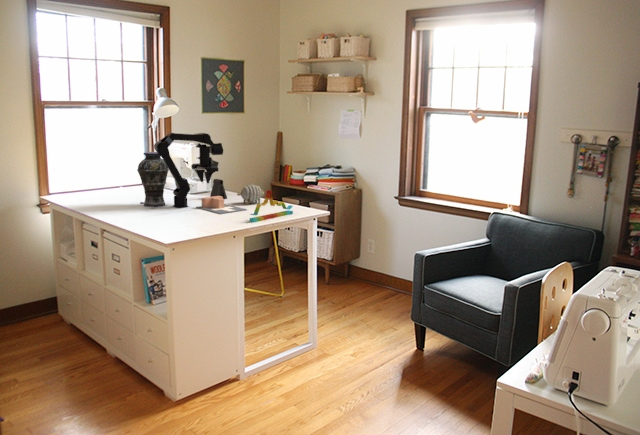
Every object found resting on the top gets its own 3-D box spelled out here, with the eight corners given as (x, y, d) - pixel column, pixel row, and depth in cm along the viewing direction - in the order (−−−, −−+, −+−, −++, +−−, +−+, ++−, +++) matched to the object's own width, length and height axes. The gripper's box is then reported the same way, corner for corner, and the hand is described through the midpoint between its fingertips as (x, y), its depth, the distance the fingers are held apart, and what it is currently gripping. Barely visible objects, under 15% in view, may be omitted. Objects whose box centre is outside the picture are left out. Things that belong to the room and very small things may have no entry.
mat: (220, 214, 322) (220, 213, 322) (196, 207, 337) (196, 206, 337) (247, 210, 334) (247, 209, 334) (222, 204, 350) (222, 203, 350)
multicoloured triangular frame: (288, 213, 330) (288, 186, 327) (292, 214, 328) (293, 187, 325) (249, 221, 306) (249, 192, 303) (253, 222, 304) (253, 193, 301)
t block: (212, 209, 331) (212, 200, 330) (201, 206, 339) (201, 197, 338) (230, 206, 340) (230, 198, 339) (219, 204, 347) (219, 195, 346)
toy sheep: (267, 203, 355) (267, 185, 353) (242, 206, 346) (241, 187, 344) (259, 200, 364) (259, 182, 362) (234, 203, 355) (233, 184, 352)
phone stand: (215, 200, 362) (215, 180, 360) (209, 199, 366) (209, 179, 364) (227, 198, 369) (227, 179, 366) (221, 197, 373) (221, 178, 370)
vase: (132, 206, 338) (130, 152, 332) (153, 201, 353) (152, 150, 347) (154, 209, 331) (152, 154, 325) (175, 204, 346) (174, 152, 340)
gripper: (226, 156, 340) (226, 183, 343) (206, 153, 353) (207, 179, 356) (209, 157, 332) (210, 185, 335) (190, 154, 345) (191, 181, 348)
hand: (204, 182), depth 344 cm, fingers open, 6 cm apart
